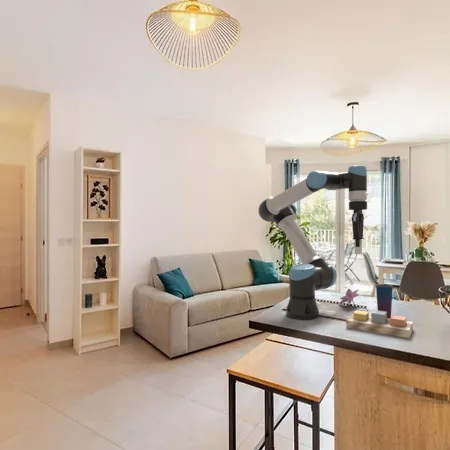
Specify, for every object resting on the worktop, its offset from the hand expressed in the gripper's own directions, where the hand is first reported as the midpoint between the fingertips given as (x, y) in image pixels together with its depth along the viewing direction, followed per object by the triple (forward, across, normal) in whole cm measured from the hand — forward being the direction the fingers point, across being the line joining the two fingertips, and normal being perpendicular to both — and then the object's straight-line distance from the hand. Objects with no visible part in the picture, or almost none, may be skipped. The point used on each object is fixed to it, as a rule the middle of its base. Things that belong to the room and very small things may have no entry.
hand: (358, 254), depth 145 cm
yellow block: (+28, -7, -3) cm, 29 cm away
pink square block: (+28, -7, -17) cm, 33 cm away
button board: (+29, -7, -10) cm, 32 cm away
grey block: (+27, -7, -9) cm, 29 cm away
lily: (+30, +22, +9) cm, 38 cm away
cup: (+30, +8, -9) cm, 32 cm away
